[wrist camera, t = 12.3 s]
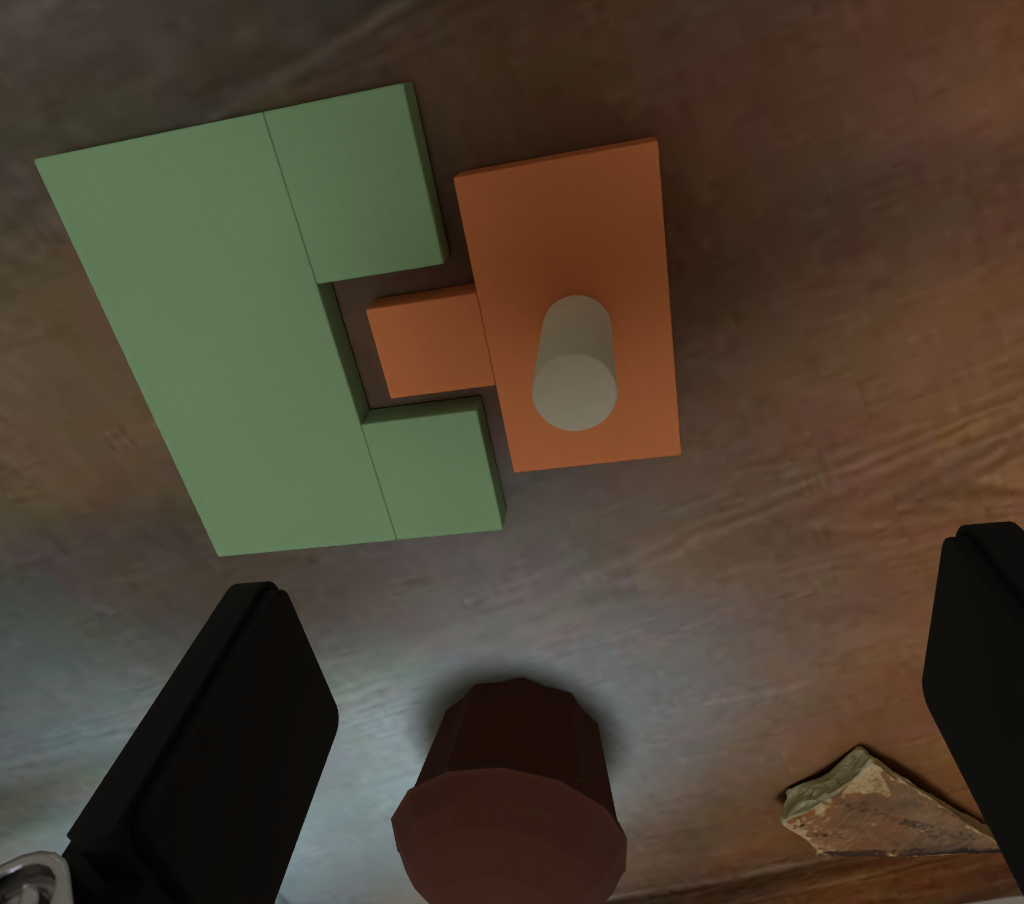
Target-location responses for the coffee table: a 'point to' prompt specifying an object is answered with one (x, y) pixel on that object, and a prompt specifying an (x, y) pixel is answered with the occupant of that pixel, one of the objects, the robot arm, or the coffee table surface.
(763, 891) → the coffee table surface
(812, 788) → the shard
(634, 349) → the tab pad
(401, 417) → the notch pad
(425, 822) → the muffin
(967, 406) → the coffee table surface
